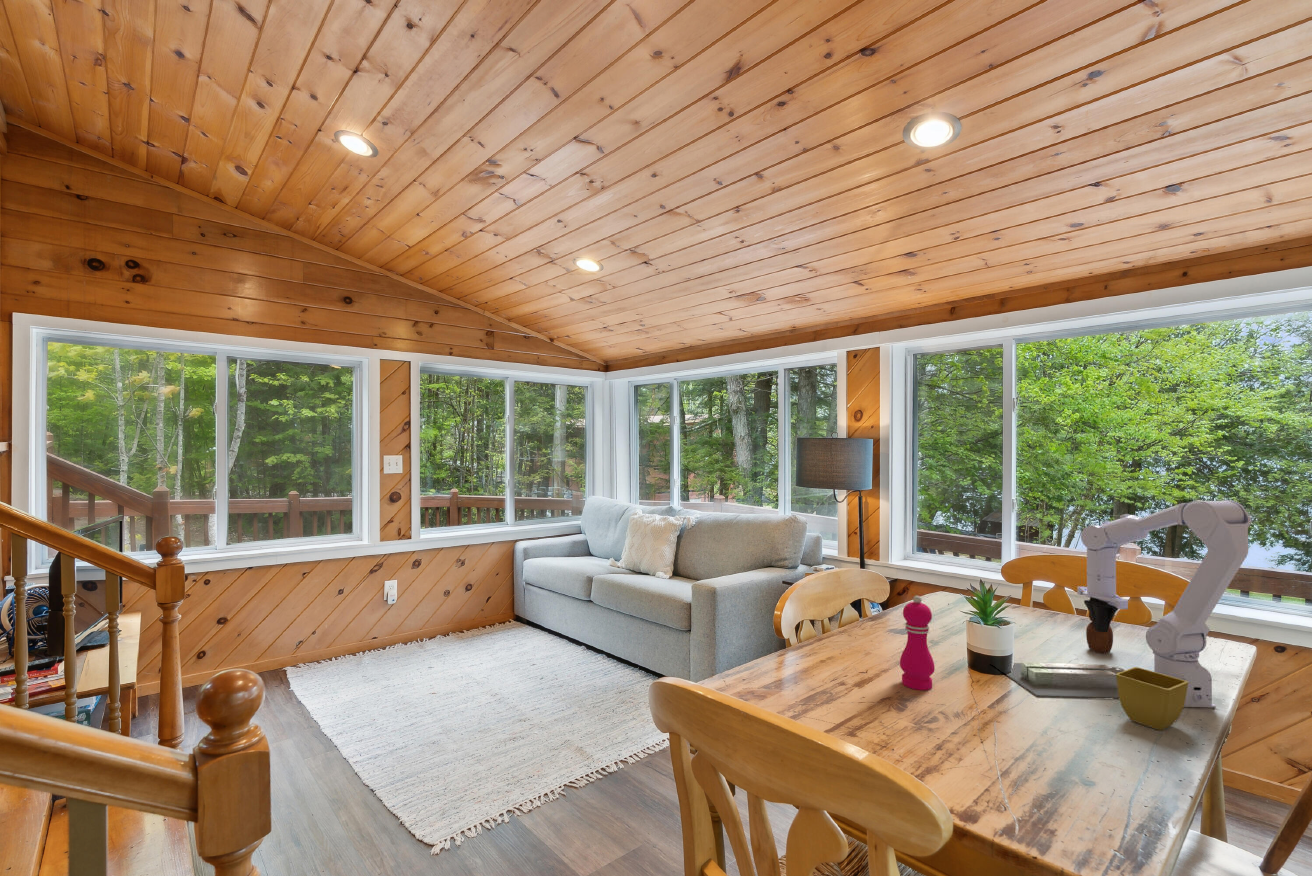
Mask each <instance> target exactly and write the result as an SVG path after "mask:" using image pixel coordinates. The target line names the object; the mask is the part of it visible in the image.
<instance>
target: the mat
mask: <svg viewBox="0 0 1312 876" xmlns="http://www.w3.org/2000/svg"><path fill="white" fill-rule="evenodd" d="M1013 663H1014V665H1013V668H1012V672H1011V673H1009V674H1007V676H1006V677H1008V678H1009V679H1011V680H1012V681H1013V682H1014V683H1016V684H1017V685H1019V686H1021V688H1024V689H1025V690H1026V691H1028V692H1029V693H1031V694H1032V695H1034V697H1036V696H1037V697H1036V698H1057V699H1058V698H1062V699H1065V698H1067V699H1091V698H1113V699H1112V700H1119V695H1118V687H1117V688H1095V687H1059V686H1034V685H1033V684H1031V683H1030V682H1028V680H1027V679H1025V678H1024V677H1022V676H1021V662H1013Z"/></svg>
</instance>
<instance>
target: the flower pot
mask: <svg viewBox="0 0 1312 876" xmlns="http://www.w3.org/2000/svg"><path fill="white" fill-rule="evenodd" d="M1124 670H1125V669H1124ZM1116 679H1117V687H1118V695H1119V699H1118V700H1119V703H1120V705H1121V707H1122V710H1123V711H1124V713H1125V714H1126V716H1127V717H1128V719H1129V720H1130V721H1132V722H1135V723H1138V724H1141V725H1144V726H1145V727H1149V728H1151V729H1154V730H1157V731H1163V730H1165V729H1167V728H1169V727H1171V726H1172V725H1173V724H1174V723H1175V722H1176V721H1177V720H1178V719H1179V718H1180V716H1181V715H1182V712H1183V710H1184V708H1185V707H1184V704H1185V698H1186V693H1187V687H1188V682H1187V681H1184V680H1181V679H1178V678H1175V677H1171V676H1167V675H1164V674H1160V673H1157V672H1154V671H1153V670H1149V669H1145V668H1142V667H1137V666H1135V667H1131V668H1129V669H1126V670H1125V671H1122V672H1119V673H1117V674H1116Z"/></svg>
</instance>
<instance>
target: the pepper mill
mask: <svg viewBox="0 0 1312 876" xmlns="http://www.w3.org/2000/svg"><path fill="white" fill-rule="evenodd" d="M912 600H913V601H912V602H909V603H907V604H905V605H904V607H903V610H902V616H903V618H904V620H905V621H906V622H905V625H904V626H905V628H904V629H905V631H906V632H907V633H906V634H907V641H906V643H905V647H904V649H903V651H902V652H901V656H900V658H899V667H900V669H901V670H902V672H903V673H902V674H901V684H902V685H903V686H905V687H907V688H909V689H913V690H918V691H928V690H931V689H932V688H933V678H932V677H931V676H932V675H933V674H934V672H935V662H934V658H933V656H932V654H931V652H930V650H929V647H928V633H930V625H929V624H930V622H931V621H932V619H933V614H932V610H931V608H930V607H929V606H928V605H926V604H924V603H923V602H922V597H921V596H919V595H914V597H913V598H912Z"/></svg>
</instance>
